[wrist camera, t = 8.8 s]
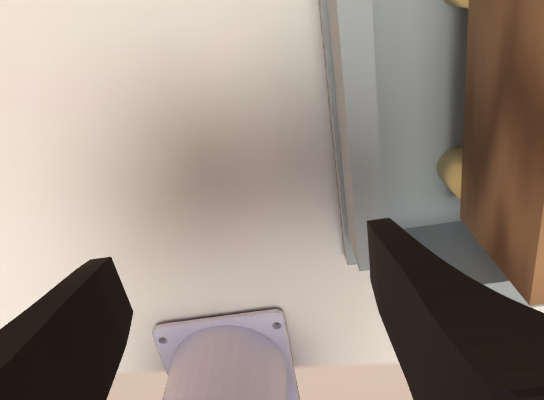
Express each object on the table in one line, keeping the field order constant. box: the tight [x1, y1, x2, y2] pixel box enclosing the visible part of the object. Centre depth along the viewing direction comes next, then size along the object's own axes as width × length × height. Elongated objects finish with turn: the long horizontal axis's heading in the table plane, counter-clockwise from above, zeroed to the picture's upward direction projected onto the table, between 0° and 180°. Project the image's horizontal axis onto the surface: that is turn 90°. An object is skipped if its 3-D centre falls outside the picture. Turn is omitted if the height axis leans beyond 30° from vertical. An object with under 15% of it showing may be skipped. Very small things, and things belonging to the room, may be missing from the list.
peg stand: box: [319, 0, 544, 307], centre depth 17 cm, size 18×14×6 cm
